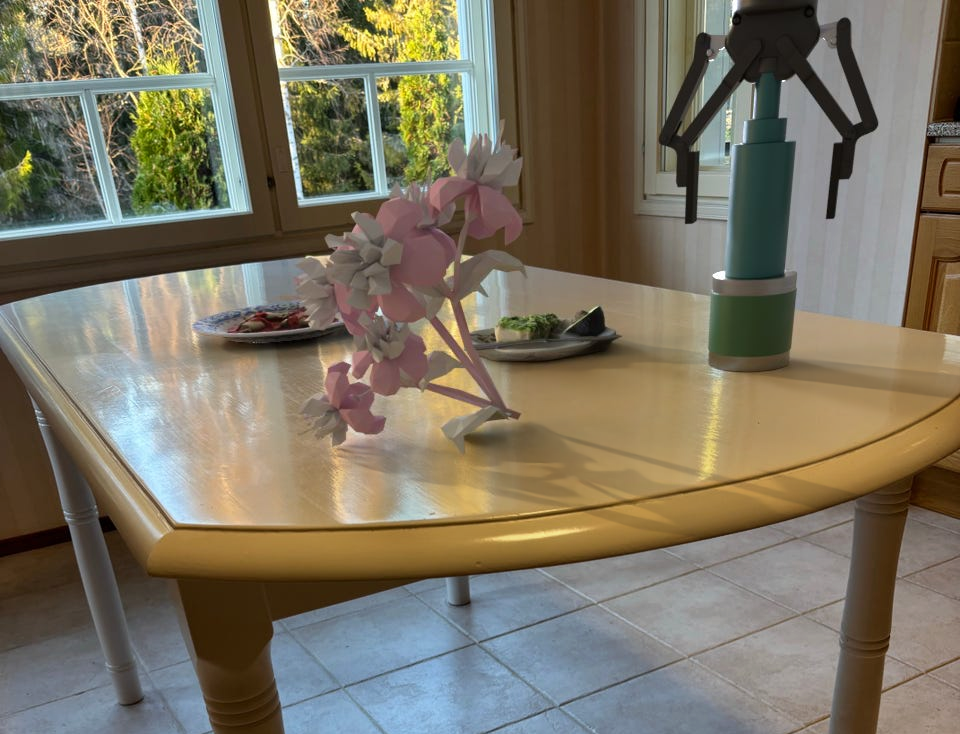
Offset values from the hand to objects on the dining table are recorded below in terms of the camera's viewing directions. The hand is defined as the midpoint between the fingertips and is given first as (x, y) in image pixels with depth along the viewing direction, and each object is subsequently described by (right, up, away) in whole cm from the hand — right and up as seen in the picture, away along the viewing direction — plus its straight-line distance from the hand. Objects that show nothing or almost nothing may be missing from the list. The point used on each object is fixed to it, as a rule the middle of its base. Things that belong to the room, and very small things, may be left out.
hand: (758, 220), depth 93 cm
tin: (+1, -12, +7) cm, 14 cm away
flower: (-35, -25, -11) cm, 44 cm away
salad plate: (-20, -7, +20) cm, 29 cm away
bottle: (0, -4, +2) cm, 5 cm away
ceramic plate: (-56, +2, +41) cm, 70 cm away
